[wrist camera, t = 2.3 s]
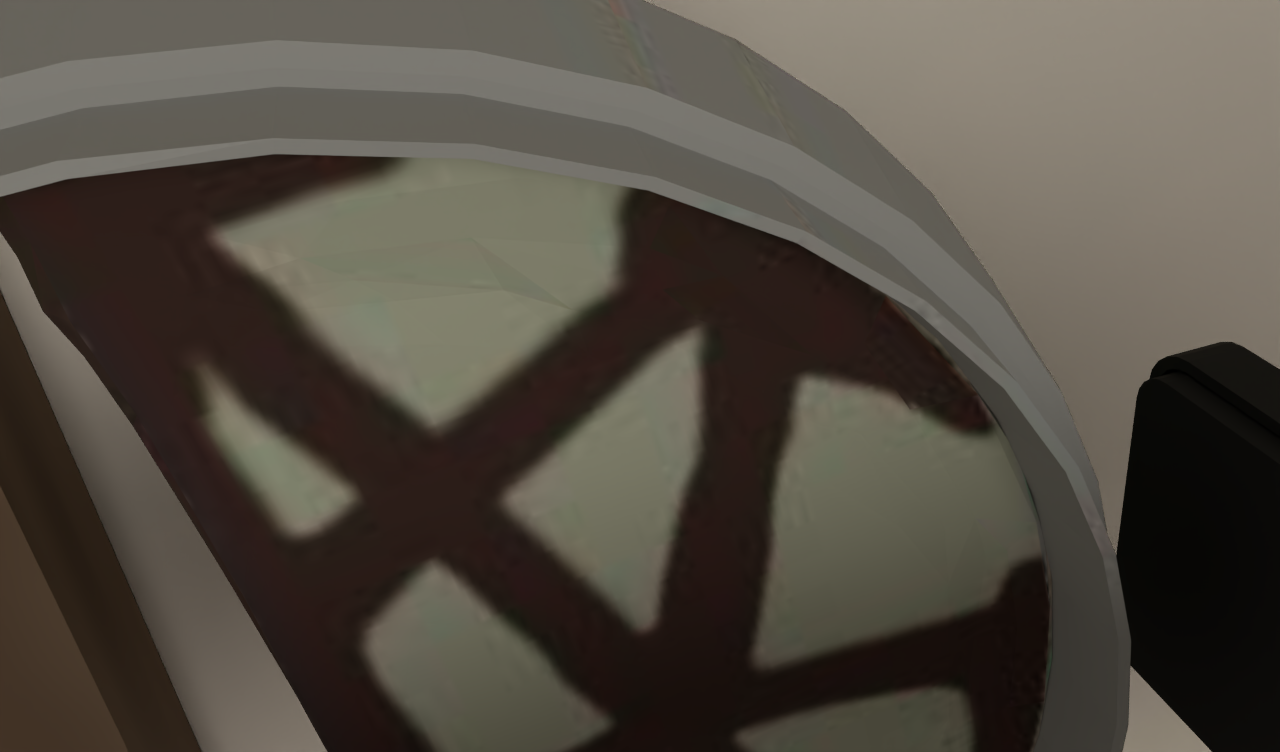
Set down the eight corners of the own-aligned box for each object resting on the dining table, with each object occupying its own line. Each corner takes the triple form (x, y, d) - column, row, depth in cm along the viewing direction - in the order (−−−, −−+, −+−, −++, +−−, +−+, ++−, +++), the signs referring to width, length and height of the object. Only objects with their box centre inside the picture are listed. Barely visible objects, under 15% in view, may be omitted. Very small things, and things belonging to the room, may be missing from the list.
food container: (824, 484, 20) (1212, 1045, 12) (486, 620, 20) (632, 1306, 11) (626, -324, 13) (1190, -397, 5) (110, -150, 13) (-232, 94, 5)
